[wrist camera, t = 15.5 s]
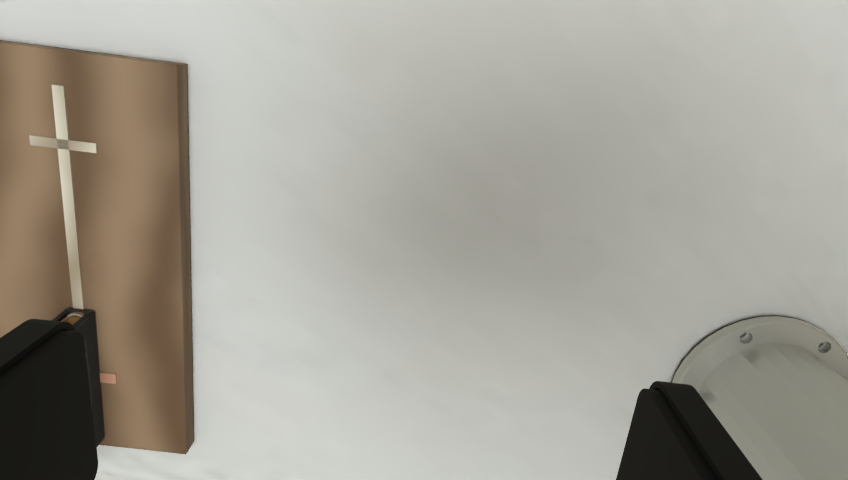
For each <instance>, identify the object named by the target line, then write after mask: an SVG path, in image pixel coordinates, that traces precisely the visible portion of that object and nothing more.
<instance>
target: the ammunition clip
mask: <svg viewBox="0 0 848 480" xmlns="http://www.w3.org/2000/svg"><path fill="white" fill-rule="evenodd" d="M52 321H62V322H69V323H70V324H72V325H73V327H74V329H75V332H79V333H81V334H82V336H83V338H84V343H85V352H86V361H87V370H88V379H89V388H90V396H91V405H92V414H93V423H94V432H95V441H96V447H97V446H98V445H99V444H100V443H101V442H102V440H103V439H104V437H105V436H104V424H103V411H102V398H101V385H100V372H99V359H98V347H97V334H96V321H95V312H94V311H91V310H82V309H74V308H66V309H65V310H64V311H63V312H61V313H60V314H59V315H58V316H56V317H55V318H54V319H53V320H52Z"/></svg>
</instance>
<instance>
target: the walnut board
mask: <svg viewBox="0 0 848 480" xmlns="http://www.w3.org/2000/svg"><path fill="white" fill-rule="evenodd" d="M66 308H74V309H82V310H91V311H94V312H95V321H96V334H97V347H98V359H99V372H100V385H101V398H102V411H103V424H104V436H105V437H104V439H103V440H102V442H101V443H100V444H99V445H107V446H116V447H125V448H135V449H144V450H153V451H162V452H171V453H180V454H186V453H187V452H188V450H189V448H190V447H191V445H192V443H193V442H194V411H193V355H192V299H191V243H190V186H189V130H188V74H187V64H182V63H175V62H167V61H159V60H151V59H143V58H135V57H128V56H120V55H112V54H104V53H96V52H88V51H81V50H73V49H65V48H57V47H49V46H41V45H34V44H26V43H18V42H10V41H2V40H0V338H1V337H2V336H4V335H5V334H7V333H8V332H10V331H11V330H13V329H14V328H16V327H17V326H19V325H20V324H22V323H23V322H25V321H27V320H29V319H42V320H53V319H54V318H55V317H56V316H58V315H59V314H60V313H61V312H63V311H64V310H65V309H66Z"/></svg>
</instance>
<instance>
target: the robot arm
mask: <svg viewBox="0 0 848 480" xmlns="http://www.w3.org/2000/svg"><path fill="white" fill-rule="evenodd" d="M97 468H98V458H97V449H96V441H95V432H94V423H93V414H92V405H91V396H90V388H89V379H88V370H87V361H86V352H85V343H84V338H83V336H82V334H81V333H79V332H75V329H74V327H73V325H72V324H70V323H69V322H62V321H52V320H42V319H29V320H27V321H25V322H23V323H22V324H20V325H19V326H17V327H16V328H14V329H13V330H11V331H10V332H8V333H7V334H5V335H4V336H2V337H1V338H0V480H94V479H95V476H96V473H97ZM616 480H848V357H847V355H846V353H845V351H844V350H843V349H842V348H841V346H840V345H839V344H838V343H837V342H836V341H835V340H834V339H833V338H831V337H830V336H829V335H827V334H826V333H825V332H824V331H822V330H821V329H819V328H817V327H815V326H813V325H812V324H810V323H807V322H804V321H801V320H798V319H795V318H788V317H780V316H770V317H757V318H752V319H748V320H743V321H740V322H737V323H734V324H732V325H729V326H727V327H724V328H722V329H721V330H719V331H717V332H715V333H714V334H712V335H710V336H708V337H707V338H706V339H705V340H703V341H702V342H701V343H700V344H698V345H697V346H696V347H695V348H694V349H693V350H692V351H691V352H690V353H689V355H688V356H687V357H686V358H685V359H684V360H683V362H682V363H681V365H680V367H679V368H678V370H677V372H676V373H675V376H674V378H673V381H672V383H669V382H659V381H656V382H654V383H653V384H652V385H651V386H650V389H642V390H641V392H640V393H639V396H638V399H637V403H636V407H635V410H634V414H633V418H632V422H631V426H630V429H629V433H628V437H627V441H626V445H625V448H624V452H623V456H622V460H621V464H620V467H619V471H618V475H617V479H616Z"/></svg>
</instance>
